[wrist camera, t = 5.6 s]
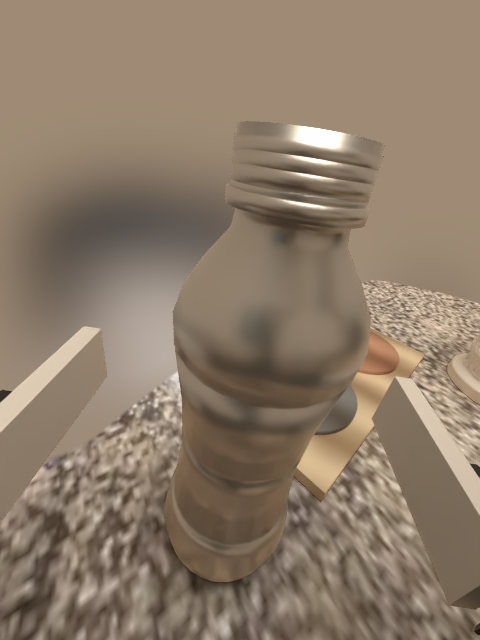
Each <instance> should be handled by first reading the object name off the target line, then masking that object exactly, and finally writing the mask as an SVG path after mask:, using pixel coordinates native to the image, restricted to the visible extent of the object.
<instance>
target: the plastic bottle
mask: <svg viewBox="0 0 480 640" xmlns="http://www.w3.org/2000/svg"><path fill="white" fill-rule="evenodd" d="M384 148H385V145H383V144H382V143H379V142H377V141H373V140H370V139H366V138H362V137H358V136H354V135H349V134H344V133H340V132H334V131H328V130H323V129H317V128H310V127H304V126H296V125H289V124H279V123H270V122H250V121H246V122H239V123H237V133H235V136H234V147H233V158H232V169H231V178H230V183H227V184H226V190H225V202H226V203H227V204H229V205H230V206H232V207H235V213H234V216H233V220H232V224H231V226H230V227H229V229H228V230H227V231H226V232H225V233H224V234H223V235H222V236H221V237H220V238H219V239H218V240H217V242H216V243H215V244H214V245H213V246H212V247H211V248H210V249H209V250H208V251H207V252H206V253H205V254H204V256H203V257H202V258H201V259H200V261H199V262H198V264H197V265H196V266H195V268H194V269H193V270H192V272H191V273H190V274H189V276H188V277H187V278H186V280H185V282H184V285H183V287H182V289H181V292H180V294H179V297H178V300H177V302H176V305H175V307H174V310H173V325H174V345H175V352H176V359H177V367H178V374H179V381H180V388H181V396H182V445H181V450H180V454H179V459H178V464H177V467H176V470H175V472H174V474H173V477H172V479H171V482H170V486H169V489H168V493H167V497H166V502H165V522H166V528H167V532H168V535H169V538H170V540H171V543H172V546H173V548H174V551H175V553H176V554H177V556H178V557H179V559H180V560H181V562H182V563H183V564H184V565H185V566H186V567H187V568H188V569H189V570H190V571H191V572H193V573H194V574H196V575H198V576H200V577H201V578H204V579H207V580H210V581H214V582H230V581H235V580H239V579H241V578H243V577H245V576H247V575H249V574H251V573H252V572H253V571H255V570H256V569H257V568H258V567H259V566H261V565H262V564H263V563H264V562H265V561H267V560H268V558H269V557H270V556H271V555H272V553H273V552H274V551H275V549H276V548H277V545H278V543H279V541H280V539H281V537H282V533H283V529H284V525H285V520H286V515H287V506H288V495H289V491H290V487H291V484H292V480H293V476H294V473H295V469H296V467H297V466H298V464H299V462H300V460H301V458H302V456H303V454H304V452H305V450H306V449H307V447H308V445H309V443H310V441H311V439H312V437H313V435H314V434H315V432H316V431H317V429H318V428H319V427H320V425H321V424H322V422H323V421H324V420H325V418H326V417H327V416H328V414H329V413H330V411H331V410H332V409H333V407H334V406H335V404H336V403H337V402H338V400H339V399H340V398H341V396H342V395H343V393H344V392H345V391H346V389H347V387H348V386H349V385H350V384H351V382H352V381H353V379H354V377H355V375H356V374H357V372H358V370H359V369H360V367H361V365H362V364H363V362H364V360H365V358H366V356H367V354H368V345H369V335H370V315H369V311H368V307H367V303H366V299H365V295H364V291H363V287H362V284H361V282H360V279H359V276H358V274H357V271H356V268H355V266H354V263H353V260H352V258H351V255H350V253H349V250H348V242H349V234H350V230H351V229H352V228H353V229H354V228H362V227H364V226H365V223H366V221H367V218H368V214H369V211H370V208H369V207H367V204H368V201H369V198H370V195H371V192H372V189H373V186H374V183H375V180H376V177H377V174H378V172H379V168H380V165H381V162H382V160H383V157H384V156H382V153H383V151H384Z"/></svg>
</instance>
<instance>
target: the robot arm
mask: <svg viewBox="0 0 480 640" xmlns="http://www.w3.org/2000/svg"><path fill="white" fill-rule="evenodd" d="M106 377H107V370H106V363H105V356H104V348H103V340H102V332H101V329H98V328H91V327H85V326H84V327H83V328H82V329H80V330H79V331H78V332H77V333H76V334H75V335H74V336H73V337H72V338H71V339H70V340H68V341H67V342H66V343H65V344H64V345H63V346H62V347H61V348H60V349H58V350H57V351H56V353H54V354H53V355H52V356H51V357H50V358H49V359H48V360H47V361H45V362H44V363H43V364H42V365H41V366H40V367H39V368H38V369H37V370H36V371H34V373H32V374H31V375H30V376H29V377H28V378H27V379H26V380H25V381H23V383H21V384H20V385H19V386H18V387H17V388H16V389H15V390H14V391H13V392H12V391H6V390H1V391H0V523H1V521H2V520H3V518H4V517H5V516H6V514H7V513H8V512H9V510H10V509H11V507H12V506H13V505H14V503H15V502H16V501H17V499H18V498H19V497H20V495H21V494H22V492H23V491H24V490H25V488H26V487H27V486H28V484H29V483H30V481H31V480H32V479H33V477H34V476H35V475H36V473H37V472H38V471H39V469H40V468H41V466H42V465H43V464H44V462H45V461H46V460H47V458H48V457H49V455H50V454H51V453H52V451H53V450H54V448H55V447H56V446H57V444H58V443H59V442H60V440H61V439H62V438H63V436H64V435H65V433H66V432H67V430H68V429H69V428H70V427H71V425H72V424H73V423H74V421H75V420H76V418H77V417H78V416H79V414H80V413H81V411H82V410H83V409H84V408H85V406H86V405H87V403H88V402H89V401H90V399H91V398H92V396H93V395H94V394H95V392H96V391H97V390H98V388H99V387H100V386H101V384H102V383H103V381H104V380H105V379H106ZM372 421H373V423H374V426H375V428H376V430H377V433H378V435H379V438H380V440H381V442H382V445H383V447H384V450H385V452H386V454H387V457H388V459H389V462H390V464H391V466H392V469H393V471H394V474H395V476H396V478H397V481H398V483H399V486H400V488H401V490H402V493H403V495H404V498H405V500H406V502H407V505H408V507H409V510H410V512H411V514H412V517H413V519H414V522H415V524H416V526H417V529H418V531H419V534H420V536H421V538H422V541H423V543H424V546H425V548H426V550H427V553H428V555H429V558H430V560H431V562H432V565H433V567H434V570H435V572H436V574H437V577H438V579H439V582H440V584H441V586H442V589H443V591H444V594H445V596H446V598H447V601H448V603H449V605H451V606H457V607H463V608H470V609H477V608H479V607H480V467H479V466H478V465H476V464H469V462H468V461H467V459H466V458H465V456H464V455H463V453H462V452H461V450H460V449H459V447H458V446H457V444H456V443H455V441H454V440H453V439H452V437H451V436H450V434H449V433H448V431H447V430H446V428H445V427H444V425H443V424H442V422H441V421H440V419H439V418H438V416H437V415H436V413H435V412H434V410H433V409H432V408H431V406H430V405H429V403H428V402H427V400H426V399H425V397H424V396H423V394H422V393H421V391H420V390H419V388H418V387H417V385H416V384H415V382H414V381H413V380H412V379H409V378H403V377H397V376H395V377H394V379H393V381H392V383H391V384H390V386H389V388H388V390H387V392H386V393H385V395H384V397H383V399H382V401H381V402H380V404H379V406H378V408H377V410H376V411H375V413H374V415H373V417H372ZM474 632H475V633H476V634H478V635H480V623H479V624H478V625H477V626H476V628H475V630H474Z"/></svg>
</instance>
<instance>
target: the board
mask: <svg viewBox="0 0 480 640" xmlns="http://www.w3.org/2000/svg"><path fill="white" fill-rule="evenodd" d="M424 355H425V354H423V353H421V352H419V351H417V350H415V349H413V348H411V347H408V346H406V345H404V344H402V343H400V342H398V341H396V340H394V339H392V338H389V337H387V336H385V335H383V334H381V333H379V332H377V331H375V330H373V329H371V328H370V335H369V345H368V354H367V356H366V358H365V360H364V362H363V364H362V365H361V367H360V369H359V370H358V372H357V374H356V375H355V377H354V379H353V381H352V382H351V384H350V385H349V386H348V387H347V389H346V391H345V392H344V393H343V395H342V396H341V398H340V399H339V400H338V402H337V403H336V404H335V406H334V407H333V409H332V410H331V411H330V413H329V414H328V416H327V417H326V418H325V420H324V421H323V422H322V424H321V425H320V427H319V428H318V429H317V431H316V432H315V434H314V435H313V437H312V439H311V441H310V443H309V445H308V447H307V449H306V450H305V452H304V454H303V456H302V458H301V460H300V462H299V464H298V466H297V467H296V469H295V473H294V477H295V478H296V479H297V480H298V481H300V482H301V483H302V484H303V485H304V486H305V487H306V488H307V489H308V490H309V491H310V492H311V493H312V494H314V495H315V496H316V497H317V498H318V499H319V500H320V501H322V499H323V498H324V497H325V495H326V494H327V492H328V491H329V490H330V488H331V487H332V485H333V484H334V483H335V481H336V480H337V478H338V477H339V476H340V474H341V473H342V471H343V470H344V468H345V467H346V466H347V464H348V463H349V461H350V460H351V459H352V457H353V456H354V454H355V453H356V452H357V450H358V449H359V447H360V446H361V445H362V443H363V442H364V440H365V439H366V438H367V436H368V435H369V433H370V432H371V430H372V429H373V428H374V423H373V421H372V417H373V415H374V413H375V411H376V410H377V408H378V406H379V404H380V402H381V401H382V399H383V397H384V395H385V393H386V392H387V390H388V388H389V386H390V384H391V383H392V381H393V379H394V377H395V376H397V377H403V378H409V377H410V376H411V374H412V373H413V371H414V370H415V369H416V367H417V366H418V364H419V363H420V361H421V360H422V358H423V357H424Z"/></svg>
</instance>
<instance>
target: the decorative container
mask: <svg viewBox="0 0 480 640" xmlns="http://www.w3.org/2000/svg"><path fill="white" fill-rule="evenodd" d="M447 372H448V375H449V377H450V379H451V380H452V381H453V383H454V384H455V385H456V386H457V388H459V389H460V390H461V391H462V392H463V393H464V394H465V395H466V396H468V397H469V398H470V399H472V400H473V401H474V402H476V403H477V404H479V405H480V335H479V336H477V337H476V338H475V339H474V340H473V341H472V344H471V350H470V352H469V353H462V354H458V355H455V356H454V357H453V358H452V360H451V361H450V363H449V364H448V366H447Z"/></svg>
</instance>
